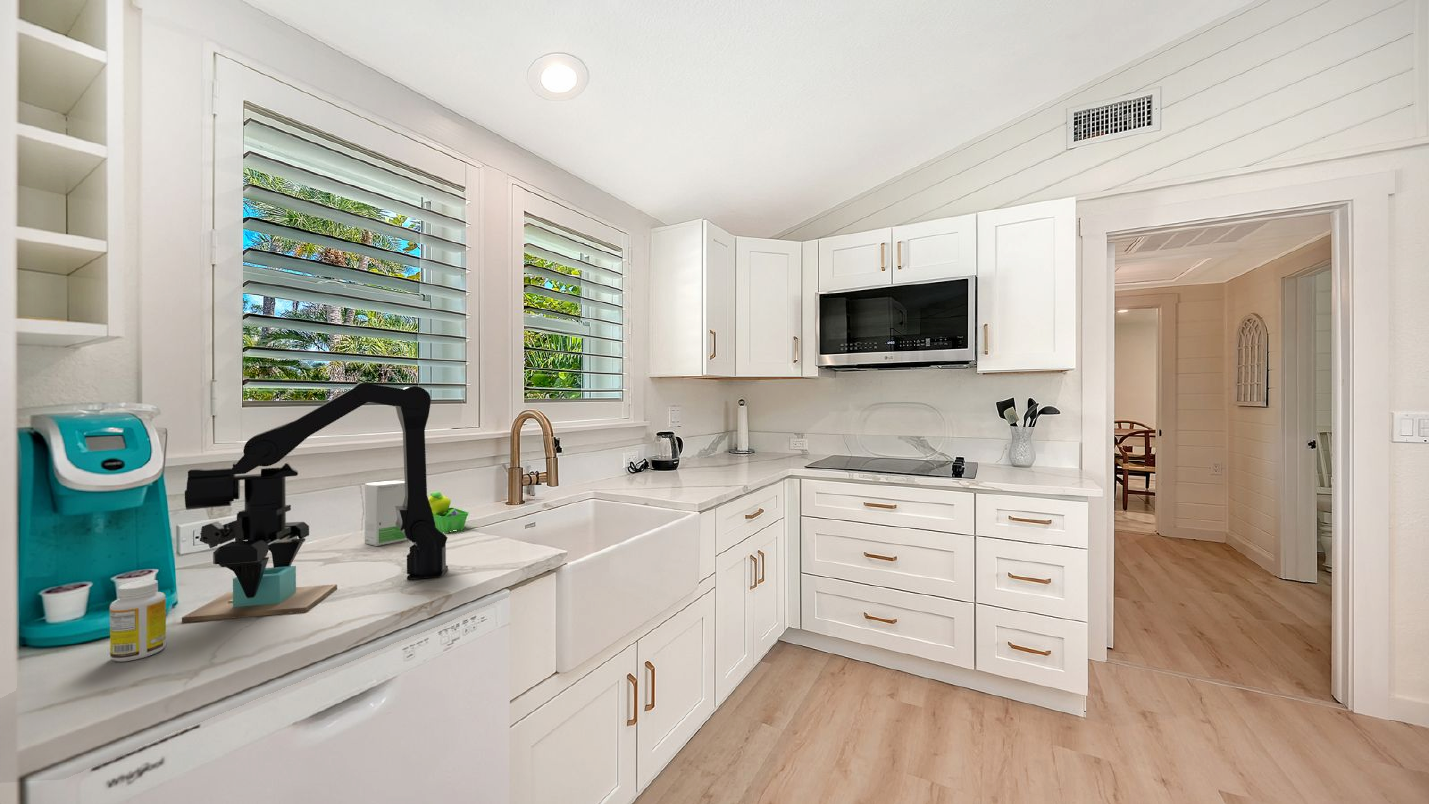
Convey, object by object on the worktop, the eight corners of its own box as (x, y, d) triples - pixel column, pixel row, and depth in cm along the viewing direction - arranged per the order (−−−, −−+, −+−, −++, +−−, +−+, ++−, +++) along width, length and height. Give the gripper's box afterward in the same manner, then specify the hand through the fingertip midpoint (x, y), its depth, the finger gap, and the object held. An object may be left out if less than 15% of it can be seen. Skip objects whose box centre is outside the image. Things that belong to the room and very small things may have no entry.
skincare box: (375, 547, 135) (375, 485, 135) (362, 543, 139) (362, 483, 139) (409, 539, 142) (409, 481, 142) (396, 536, 146) (396, 479, 146)
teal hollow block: (295, 592, 101) (295, 562, 101) (279, 603, 95) (279, 571, 95) (251, 595, 99) (251, 565, 99) (232, 607, 94) (232, 575, 94)
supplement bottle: (164, 642, 82) (163, 575, 82) (168, 653, 78) (167, 583, 78) (109, 655, 78) (108, 584, 78) (110, 667, 74) (110, 593, 74)
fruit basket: (470, 530, 153) (469, 490, 153) (437, 536, 146) (437, 494, 146) (453, 524, 160) (452, 486, 160) (421, 529, 154) (421, 490, 154)
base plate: (337, 588, 105) (337, 582, 105) (306, 611, 94) (306, 605, 94) (228, 596, 101) (228, 590, 101) (181, 622, 89) (181, 615, 89)
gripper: (244, 495, 104) (244, 575, 104) (173, 515, 86) (174, 612, 86) (310, 493, 107) (310, 571, 107) (255, 512, 89) (255, 606, 89)
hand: (266, 588), depth 97 cm, fingers open, 9 cm apart
